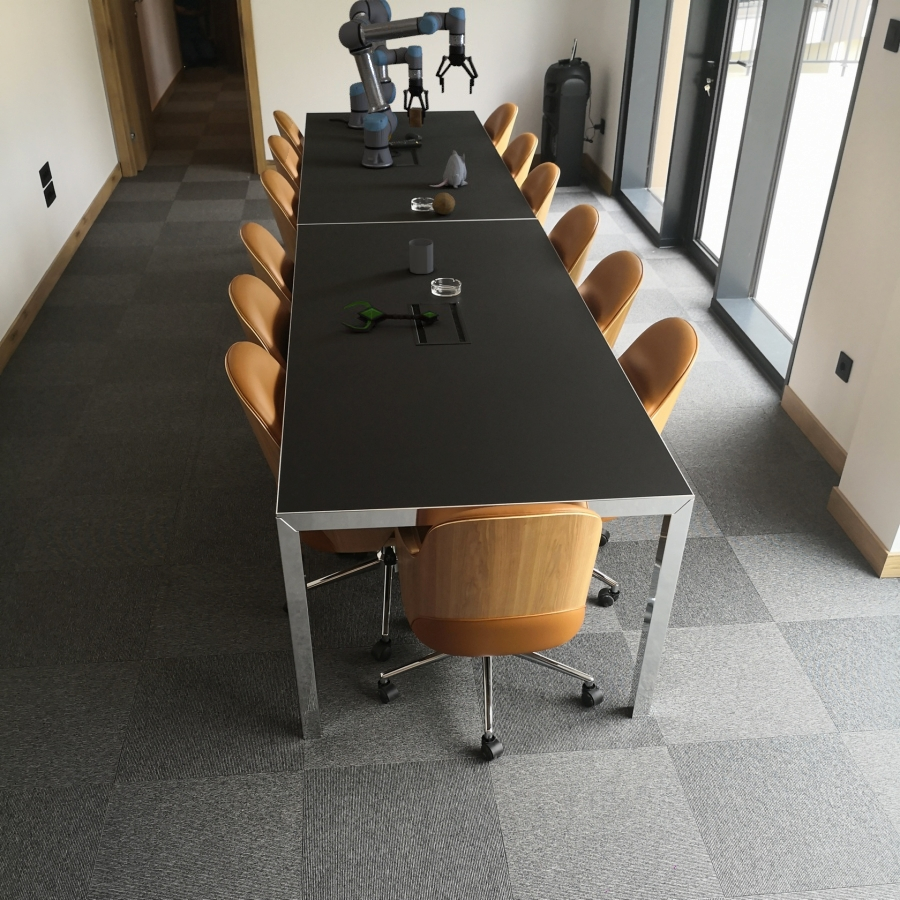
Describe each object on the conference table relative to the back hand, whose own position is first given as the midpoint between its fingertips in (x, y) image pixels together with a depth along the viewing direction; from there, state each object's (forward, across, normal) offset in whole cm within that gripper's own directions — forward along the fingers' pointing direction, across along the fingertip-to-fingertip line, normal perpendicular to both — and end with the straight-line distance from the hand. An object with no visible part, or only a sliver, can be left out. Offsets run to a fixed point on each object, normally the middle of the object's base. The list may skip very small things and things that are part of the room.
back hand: (416, 123), depth 470 cm
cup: (+10, +46, -192) cm, 197 cm away
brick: (+1, 0, 0) cm, 1 cm away
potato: (+9, +41, -127) cm, 133 cm away
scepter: (+10, +47, -239) cm, 244 cm away
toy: (+9, +35, -90) cm, 97 cm away
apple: (+8, -16, -12) cm, 21 cm away
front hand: (-24, +30, -44) cm, 59 cm away
